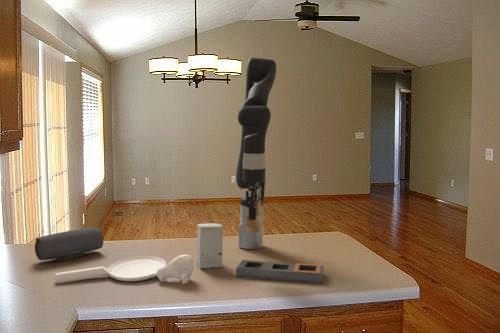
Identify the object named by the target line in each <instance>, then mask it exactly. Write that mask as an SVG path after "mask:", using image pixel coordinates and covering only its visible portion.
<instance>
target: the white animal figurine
mask: <svg viewBox="0 0 500 333" xmlns="http://www.w3.org/2000/svg"><path fill="white" fill-rule="evenodd" d="M193 267H194V260H193V257H192V256H191V255H189V254H181V255H178V256H177V257H174V259H172V260H171V261H170V262H168V263H167V264H166V266H165V267H161V268H159V269H158V270H157V273H156V274H157V276H156V277H157V278H158V280H160V282H161V283H165V282H166V280H167V278H173V279H177V280H180V281H181V280H182V281H181V283H182V285H185V284H187V283H188V282H189V281H190V279H191V276H192V275H193V272H194V268H193ZM184 274H185V275H184ZM183 275H184V276H183Z"/></svg>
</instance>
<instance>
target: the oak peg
mask: <svg viewBox="0 0 500 333" xmlns="http://www.w3.org/2000/svg"><path fill="white" fill-rule="evenodd" d="M250 204H253V202H250ZM260 230H261V200H258V201H257V202H256V219H255V220H249V208H247V231H252V232H259V231H260Z"/></svg>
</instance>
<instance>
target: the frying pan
mask: <svg viewBox="0 0 500 333" xmlns="http://www.w3.org/2000/svg"><path fill="white" fill-rule="evenodd" d="M166 265H167V261H165V259H164V258H162V257H158V256H154V255H137V256H136V255H134V256H129V257H125V258H122V259H119V260H117V261H115V262H114V261H113V263H112V264H110V265H109V266H108V267H105V266H103V265H102V266H97V267H90V268H89V267H88V268H82V269H75V270H69V271H68V270H67V271H62V272H56V273H54V275H55V276H54V277H55V284H62V283H63V284H64V283H71V282H77V281H85V280H89V279H90V280H91V279H96V278H97V279H98V278H103V277H111V278H113V279H115V280H118V281H122V282H123V281H124V282H139V281H145V280H149V279H152V278H155V277H157V274H156V273H157V270H158V269H159V268H161V267H165V266H166Z"/></svg>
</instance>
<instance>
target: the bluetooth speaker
mask: <svg viewBox="0 0 500 333" xmlns="http://www.w3.org/2000/svg"><path fill="white" fill-rule="evenodd" d="M103 236H104V235H103V233H102V230H101V229H100V228H99V227H89V228H82V229H81V228H80V229H74V230H73V229H72V230H67V231H62V232H55V233H52V234H48V235H42V236H39V237H37V238H36V239H35V243H34V251H35V252H34V253H35V256H36V258H37V259H38V260H39V261H49V260H56V261H65V260H70V259H75V258H79V257H83V256H85V254H86V253H89V252H93V251H96V250H99V249H102V248H103V247H104V237H103Z"/></svg>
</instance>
